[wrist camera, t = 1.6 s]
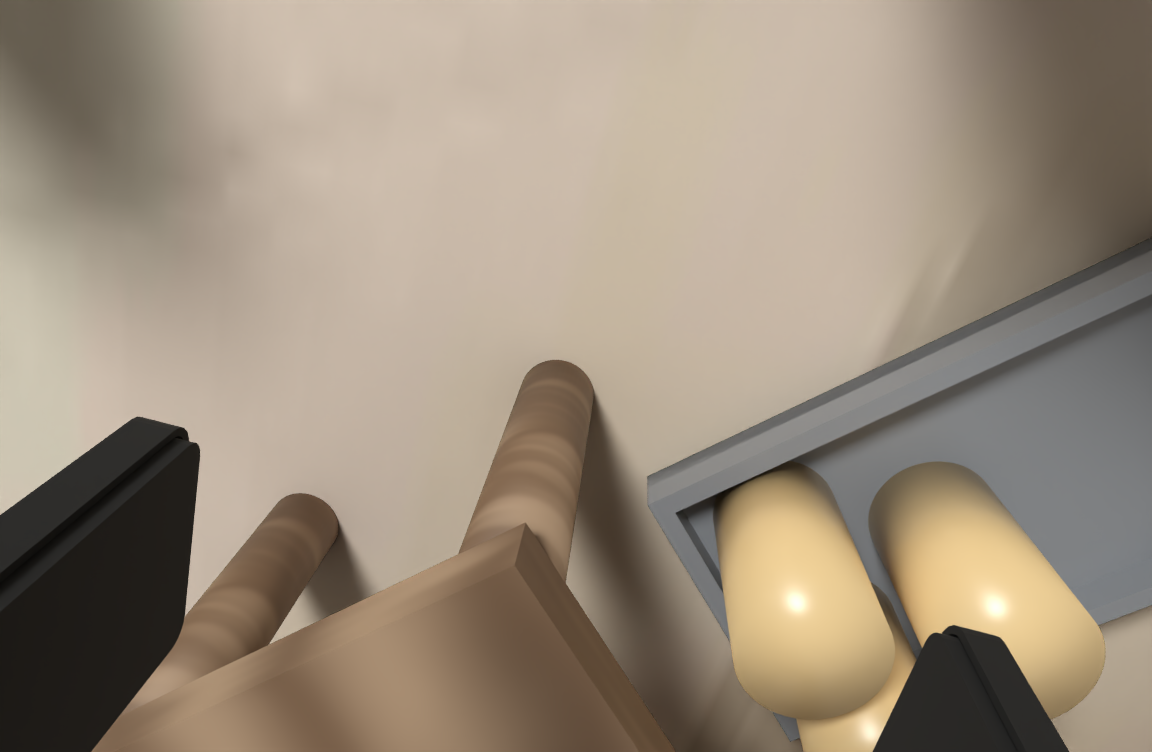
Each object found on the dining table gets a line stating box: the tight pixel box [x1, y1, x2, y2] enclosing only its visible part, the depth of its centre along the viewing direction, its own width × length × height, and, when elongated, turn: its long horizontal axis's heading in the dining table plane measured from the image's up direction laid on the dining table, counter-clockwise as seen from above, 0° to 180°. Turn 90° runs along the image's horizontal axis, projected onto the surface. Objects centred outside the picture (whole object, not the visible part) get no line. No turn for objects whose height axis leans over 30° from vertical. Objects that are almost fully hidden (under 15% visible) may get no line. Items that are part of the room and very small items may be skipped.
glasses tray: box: [647, 238, 1152, 752], centre depth 32 cm, size 22×13×10 cm, turn 120°
